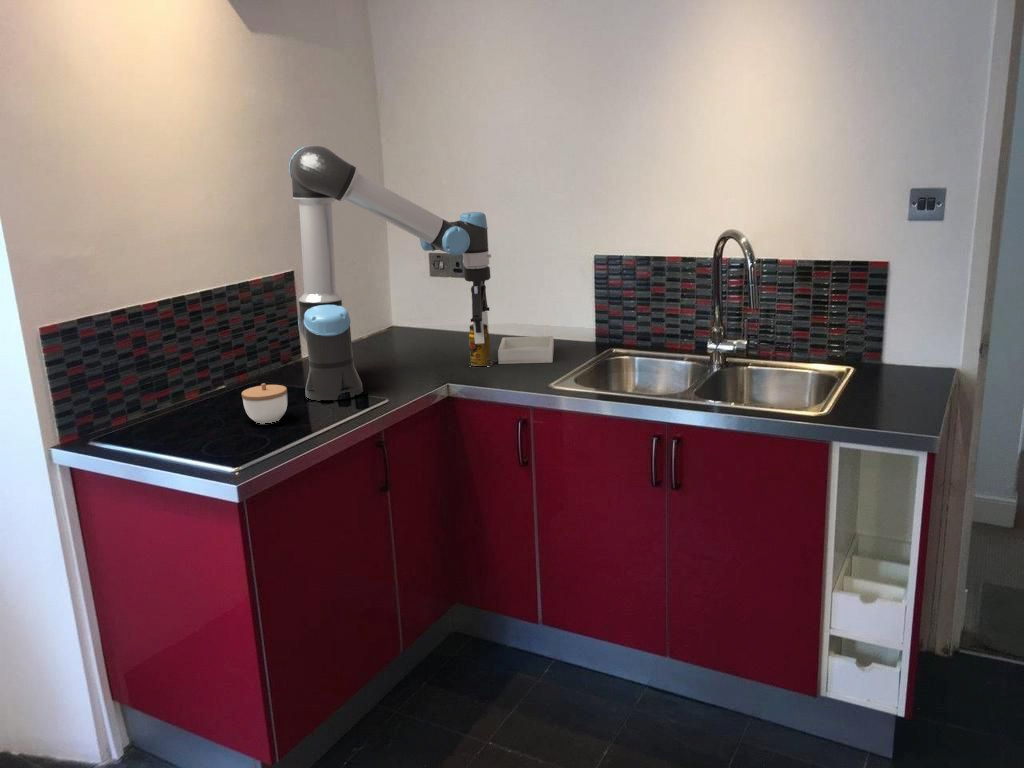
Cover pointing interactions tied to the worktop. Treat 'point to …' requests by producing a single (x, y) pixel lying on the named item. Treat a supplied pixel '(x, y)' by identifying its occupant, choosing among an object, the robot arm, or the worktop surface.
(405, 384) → the worktop surface
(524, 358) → the tray
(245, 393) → the lidded jar
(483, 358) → the condiment
